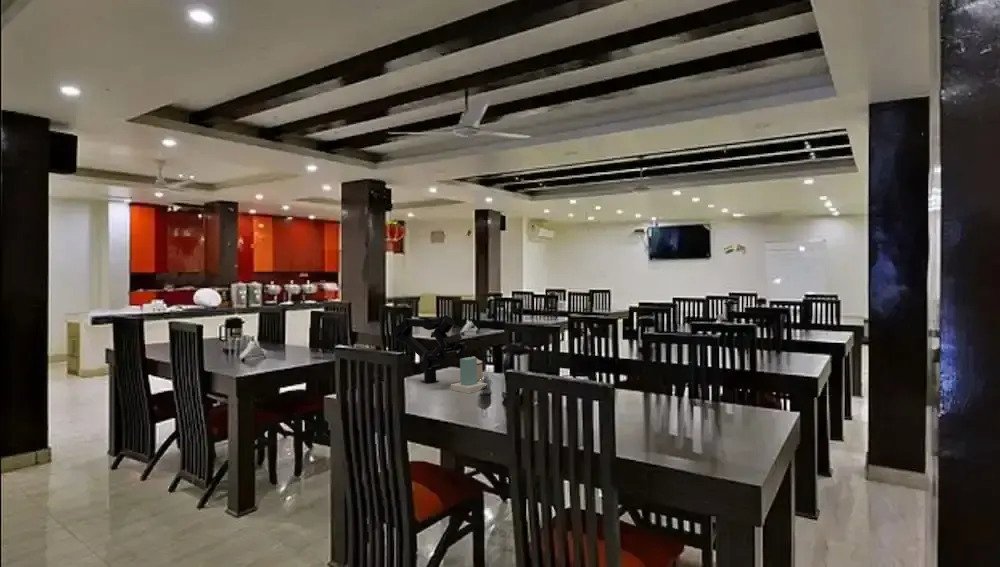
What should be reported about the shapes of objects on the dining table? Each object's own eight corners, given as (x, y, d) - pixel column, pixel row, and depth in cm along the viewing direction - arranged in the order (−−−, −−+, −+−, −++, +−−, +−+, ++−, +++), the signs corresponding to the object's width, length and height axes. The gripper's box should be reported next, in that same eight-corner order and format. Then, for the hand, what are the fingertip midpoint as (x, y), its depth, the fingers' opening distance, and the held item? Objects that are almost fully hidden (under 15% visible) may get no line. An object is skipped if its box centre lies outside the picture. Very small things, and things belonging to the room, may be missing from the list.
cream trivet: (450, 389, 278) (450, 384, 278) (469, 385, 287) (469, 380, 286) (468, 393, 270) (468, 387, 270) (487, 388, 278) (487, 383, 278)
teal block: (460, 384, 277) (460, 358, 277) (469, 382, 282) (469, 357, 281) (468, 385, 274) (467, 359, 274) (477, 383, 278) (476, 358, 278)
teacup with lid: (486, 378, 301) (486, 356, 301) (476, 382, 294) (475, 358, 293) (467, 376, 308) (467, 354, 307) (456, 379, 300) (456, 357, 300)
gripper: (435, 330, 278) (452, 356, 271) (464, 326, 292) (480, 351, 285) (425, 345, 284) (440, 371, 277) (453, 340, 297) (469, 365, 291)
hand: (458, 364), depth 282 cm, fingers open, 9 cm apart
